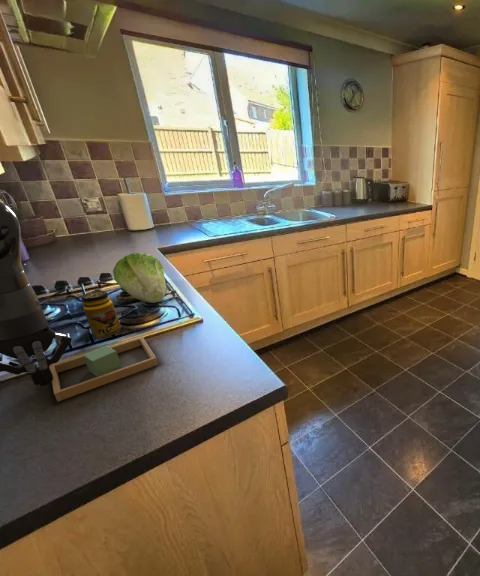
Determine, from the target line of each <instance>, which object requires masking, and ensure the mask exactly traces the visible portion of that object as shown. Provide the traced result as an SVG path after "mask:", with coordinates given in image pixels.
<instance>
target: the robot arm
mask: <svg viewBox="0 0 480 576" xmlns="http://www.w3.org/2000/svg"><path fill="white" fill-rule="evenodd" d="M21 251H22V250H21V225H20V221H19V219H18V217H17V215H16V213H15V211H13V210H12V208H10V207H9V206H8V205H6V204H5V203H3V202H1V201H0V371H3V372H6V373H9V374H12V375H19V376H20V375H21V374H25V373H26V374H29V376H30V378H31V380H32V382H33V384H34V385H35V386H38V385H39V386H40V387H44V386H47V385H50V384H51V382H52V380H53V374H52V372H51V370H50V367H49V366H50V365H53V364H56V363H59V361H60V360H61V358H62V357H63V355H64V353H65V352H66V350H67V349H68V347H69V346H70V344H71V342H72V336H71V334H70V333H69V332H65V333H59V332H56V330H55V329H54V328H52V327H51V326H50V325H49V322H48V320H47V317H46V315H45V313H44V311H43V308H42V305H41V303H40V300H39V298H38V295H37V293H36V292H35V290H34V289H33V287H32V285H31V283H30V281H29V279H28V276H27V274H26V272H25V269H24V267H23V264H22V253H21ZM53 341H54V342H55V346H54V348H53V349H52V351H51V353H50V354H49V356H46V352H47V351H48V350H49V348H50V347H51V344H52V343H53ZM3 355H4V356H6V357H9V358H12V359H15V360H19V361H20V363H19V362H16V361H13V360H10V359H8V358H4V357H3ZM34 356H35V359H36V362H37V364H36V362H35V360H34V359H33V357H34ZM37 365H38V366H37Z"/></svg>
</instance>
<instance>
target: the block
mask: <svg viewBox="0 0 480 576" xmlns="http://www.w3.org/2000/svg"><path fill="white" fill-rule="evenodd" d="M110 347H111V346H108V345H102V346H101V347H99V348H96V349H93V350H91V351H88V352H87V353H84V354H82V355H83V357H84V359H85V362H86V364H85V365H86V367H87V369H88V372H89V373H91V374H93V375H94V376H95V377H99V376H101V375H104V374H107V373H110V372H113V371H116V370H118V369H121V368H123V367H122V364H121V360H120V358H119V355H118V353H117V352H116V351H115V350H113V349H112V348H110Z"/></svg>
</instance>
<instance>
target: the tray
mask: <svg viewBox="0 0 480 576" xmlns="http://www.w3.org/2000/svg"><path fill="white" fill-rule="evenodd" d="M109 347H110V348H112V349H113V350H115V351H116V352H117V354H120V353H123V352H127V351H129V350H132V349H136V348H139V347H142V349H143V350H144V352H145V354H146V355H147V357H148V358H147V359H144V360H141V361H138V362H136V363H133V364H130V365H127V366H124V367H121V368H119V369H116V370H114V371H112V372H110V373H107V374H104V375H101V376H99V377H97V376H95V377H93V378H90V379H87V380H85V381H81V382H78V383H76V384H73V385H70V386H67V387H64V388H61V383H60V378H59V374H60V373H62V372H64V371H68V370H71V369H74V368H77V367H80V366H84V365H87V364H86V362H85V359H84V357H83V355H84V354H82V355H79V356H76V357H73V358H69V359H65V360H63V361H60V362H57V363H54V364H52V365H50V366H49V367H50V370H51V372H52V374H53V380H51V385H52V392H53V395H54V397H55V399H56V402H61V401H63V400H66V399H69V398H72V397H74V396H78V395H80V394H83V393H85V392H88V391H91V390H94V389H96V388H99V387H102V386H104V385H107V384H110V383H112V382H115V381H118V380H121V379H124V378H126V377H129V376H132V375H134V374H137V373H140V372H143V371H145V370H147V369H150V368H153V367H156V366H159V363H158V359H157V357H156V355H155V354H154V352H153V351H152V349H151V347H150V346H149V344H148V343H147V341H146V339H145V338H144V336H140V337H137V338H133V339H131V340H128V341H124V342H120V343H118V344H115V345H111V346H109ZM58 373H59V374H58Z"/></svg>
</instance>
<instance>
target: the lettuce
mask: <svg viewBox="0 0 480 576" xmlns="http://www.w3.org/2000/svg"><path fill="white" fill-rule="evenodd" d="M112 274H113V279H114V281H115V282H116V283H117V284H118V286H119V287H120V288H121V289H123V290H124V291H125V292H126V293H127V294H128V295H130V296H131V297H133V298H134V299H136V300H139V301H141V302H144V303H148V304H155V303H159V302H161V301H162V300H163V299H164V298H165V296H166V294H167V284H166V278H165V272H164V265H163V264H162V263H161V261H160V260H159V259H158V258H157V257H155V256H154V255H152V254H148V253H145V252H137V251H134V252H131V253H128V254H125V256H123V257H122V258H120V259H119V260H117V262H116V263H115V265H114V267H113V269H112Z"/></svg>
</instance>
